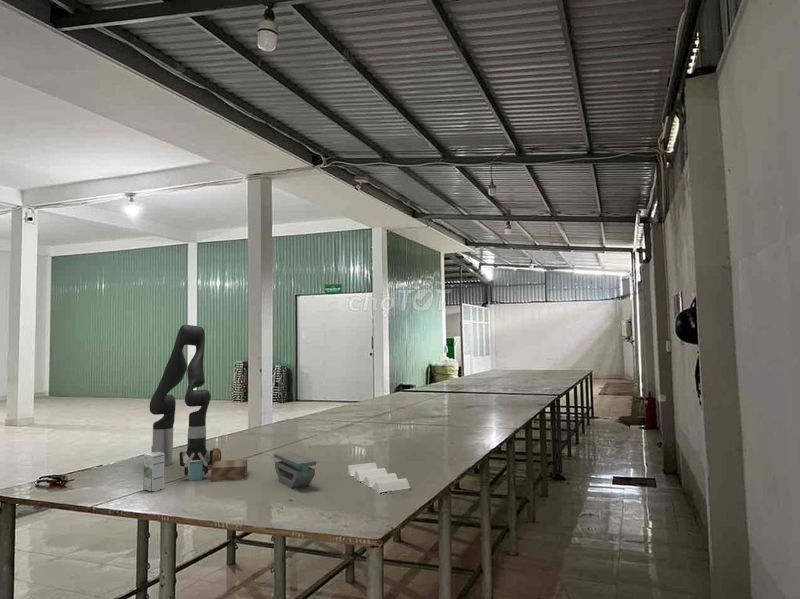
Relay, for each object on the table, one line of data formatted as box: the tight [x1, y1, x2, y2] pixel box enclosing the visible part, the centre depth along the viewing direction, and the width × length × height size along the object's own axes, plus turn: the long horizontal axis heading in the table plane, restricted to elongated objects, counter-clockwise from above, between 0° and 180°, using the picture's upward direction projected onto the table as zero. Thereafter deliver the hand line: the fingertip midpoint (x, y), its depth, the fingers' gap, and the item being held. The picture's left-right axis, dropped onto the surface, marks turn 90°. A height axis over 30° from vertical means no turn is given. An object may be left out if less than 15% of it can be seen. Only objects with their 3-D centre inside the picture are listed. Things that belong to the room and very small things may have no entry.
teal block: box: [188, 460, 204, 482], centre depth 241 cm, size 5×5×7 cm
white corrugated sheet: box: [347, 462, 411, 495], centre depth 233 cm, size 13×35×5 cm, turn 26°
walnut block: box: [210, 459, 248, 482], centre depth 245 cm, size 14×14×6 cm
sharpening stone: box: [273, 451, 317, 489], centre depth 232 cm, size 25×8×11 cm, turn 34°
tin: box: [200, 447, 222, 470], centre depth 264 cm, size 15×3×8 cm, turn 168°
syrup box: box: [143, 452, 165, 492], centre depth 224 cm, size 6×6×14 cm
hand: (196, 475), depth 241 cm, fingers open, 7 cm apart
